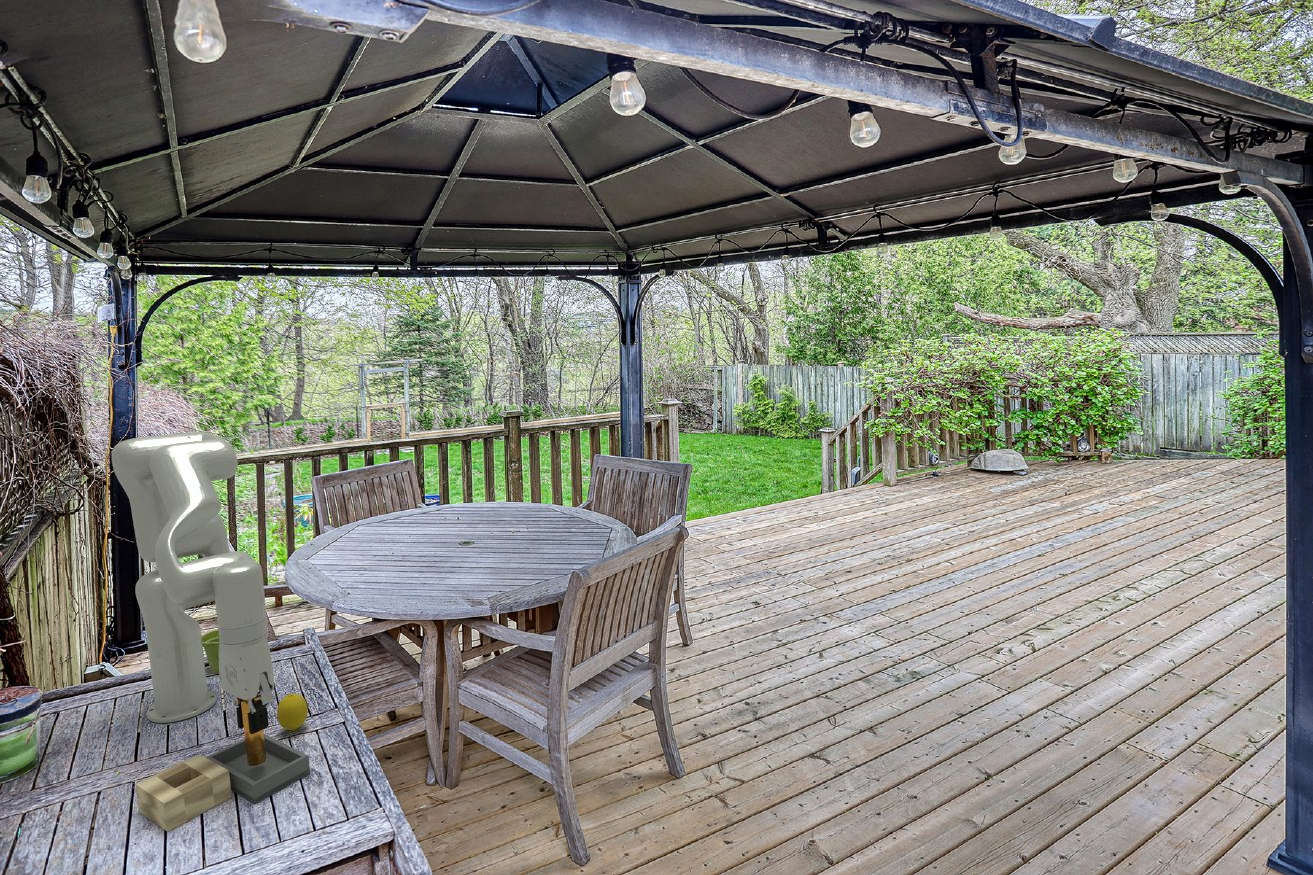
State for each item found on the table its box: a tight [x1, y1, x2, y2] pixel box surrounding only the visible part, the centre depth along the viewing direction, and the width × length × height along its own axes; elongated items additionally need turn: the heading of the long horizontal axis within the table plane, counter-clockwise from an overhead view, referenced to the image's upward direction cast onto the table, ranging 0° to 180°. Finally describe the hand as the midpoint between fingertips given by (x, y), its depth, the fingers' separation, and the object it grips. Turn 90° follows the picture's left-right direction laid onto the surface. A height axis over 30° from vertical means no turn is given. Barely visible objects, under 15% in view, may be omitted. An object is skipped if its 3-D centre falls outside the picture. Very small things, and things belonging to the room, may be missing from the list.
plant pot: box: [201, 628, 220, 674], centre depth 170 cm, size 9×9×9 cm
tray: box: [206, 733, 311, 805], centre depth 127 cm, size 16×10×4 cm, turn 59°
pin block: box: [134, 753, 233, 832], centre depth 119 cm, size 10×10×5 cm
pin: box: [241, 696, 266, 766], centre depth 126 cm, size 3×3×12 cm
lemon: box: [276, 692, 309, 732], centre depth 142 cm, size 6×6×8 cm
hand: (253, 726), depth 126 cm, fingers closed on pin, 3 cm apart
